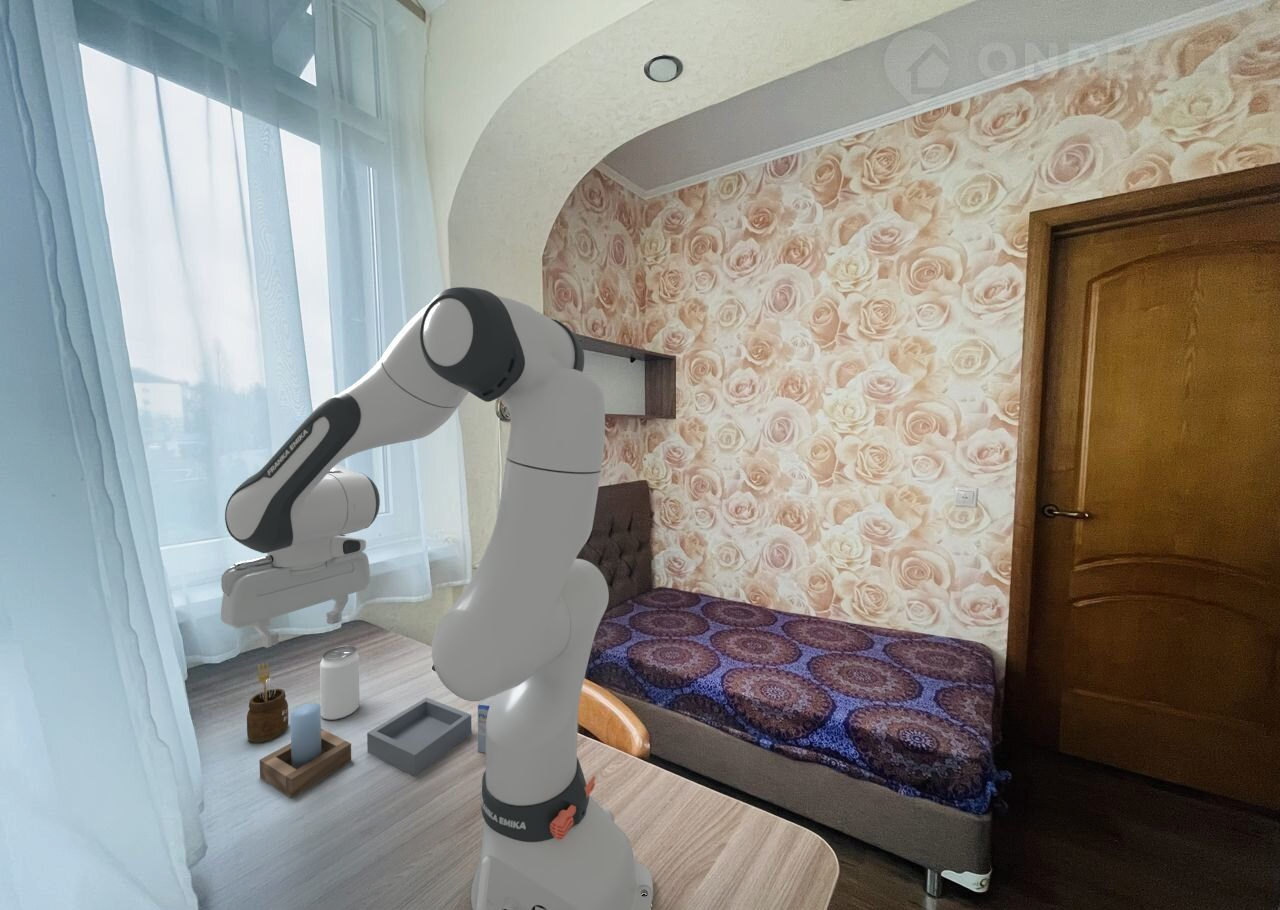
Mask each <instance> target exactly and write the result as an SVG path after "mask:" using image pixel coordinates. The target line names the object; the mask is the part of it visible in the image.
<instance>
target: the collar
mask: <svg viewBox="0 0 1280 910" xmlns="http://www.w3.org/2000/svg"><path fill="white" fill-rule="evenodd" d="M350 762H352V743H351V742H349V741H347V740H345V739H343V738H341V737H339V736H337V735H335V734H333V733H332V732H329V731H327V730H325V729H323V728H321V755H320V756H319V757H317V758H315V759H314V760H312V761H310V762H308V763H307V764H305V765H303V766H302V767H300V768H298V769H295V768H293V767H292V766H291V742H290V743H288V744H286V745H285V746H283V747H281V748H278V749H277V750H275V751H274V752H272V753H270V754H268V755H266V756H264V757H262V758H261V759H259V779H261V780H263V781H264V782H266V783H267V784H269V785H270V786H272V787H273V788H275V789H277V790H278V791H280V792H281V793H283V794H284V795H286V796H287V797H289V798H291V799H293V798H294V797H296V796H298V795H300V794H302V792H304V791H306V790H307V789H308V788H310V787H311V786H314V785H315V784H316V783H318V782H320V781H321V780H323V779H325V778H326V777H328V776H329V775H331V774H332V773H334V772H336V771H337V770H338V769H340V768H342V767H343V766H345V765H347V764H348V763H350Z"/></svg>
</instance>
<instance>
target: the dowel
mask: <svg viewBox="0 0 1280 910" xmlns="http://www.w3.org/2000/svg"><path fill="white" fill-rule="evenodd" d="M289 717H290V719H289V720H290V743H291V766H292V767H293V768H295V769H298V768H300V767H302V766H303V765H305V764H307V763H308V762H310V761H312V760H314V759H315V758H317V757H319V756H320V755H321V729H322V716H321V703H317V702H312V703H310V702H309V703H306V704H302V705H300V706H298V707H296V708H294V709H293V710H292V711H291V712H290V716H289Z"/></svg>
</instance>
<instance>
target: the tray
mask: <svg viewBox="0 0 1280 910" xmlns="http://www.w3.org/2000/svg"><path fill="white" fill-rule="evenodd" d="M470 734H472V714H470V713H468V712H466V711H463V710H460V709H457V708H455V707H452V706H449V705H447V704H445V703H442V702H440V701H437V700H434V699H432V698H429V697H427V696H426V697H424V698H423V699H422V700H419V701H418V702H416V703H414V704H413V705H411V706H410V707H408V708H406V709H405V710H403V711H402V712H399V713H398V714H396V715H395V716H393V717H391V718H389V719H387V720H386V721H385V722H383V723H381V724H380V725H378V726H377V727H375V728H373V729H371V730H369V731H367V733H366V736H367V737H366V738H367V739H366V741H367V742H366V743H367V745H366V746H367V750H366V751H367V754H370V755H372V756H374V757H375V758H378V759H379V760H382V761H384V762H385V763H388V764H390V765H392V766H394V767H396V768H398V769H400V770H402V771H404V772H406V773H407V774H410V775H412V776H414V777H415V776H416V775H418V774H419V773H421V772H422V771H423V770H424V769H426V768H427V767H429V766H430V765H431V764H433V763H434V762H435V761H437V760H438V759H439V758H440V757H442V756H443V755H444V754H445V753H447V752H448V751H450V750H451V749H452V748H454V747H455V746H456V745H458V744H459V743H460V742H462V741H463V740H464V739H465V738H467V737H468V736H470Z"/></svg>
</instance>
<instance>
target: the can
mask: <svg viewBox="0 0 1280 910" xmlns="http://www.w3.org/2000/svg"><path fill="white" fill-rule="evenodd" d="M321 656H322V659H321V661H320V663H319V693H320V695H319V697H320V706H321V718H323V719H325V720H327V721H338V720H340V719H344V718H347V717H348V716H351V715H353V713H355V712H356V711H357V710H358V708H359V707H360V656H359V653H358V651H357V647H356V646H353V645H342V646H341V645H340V646H337V647H333V648H331V649H328V650H326V651H325V652H323V654H322V655H321Z"/></svg>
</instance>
